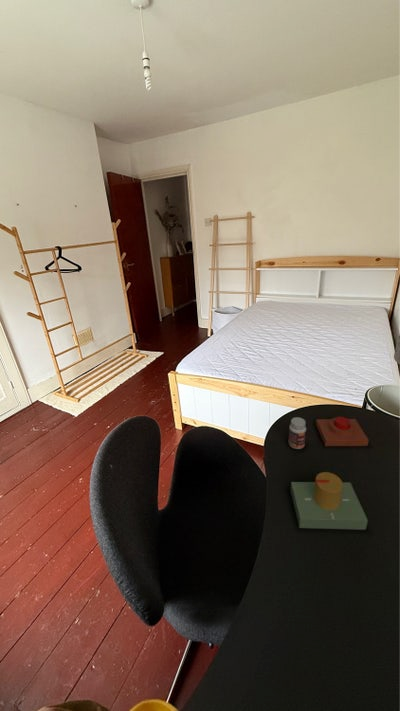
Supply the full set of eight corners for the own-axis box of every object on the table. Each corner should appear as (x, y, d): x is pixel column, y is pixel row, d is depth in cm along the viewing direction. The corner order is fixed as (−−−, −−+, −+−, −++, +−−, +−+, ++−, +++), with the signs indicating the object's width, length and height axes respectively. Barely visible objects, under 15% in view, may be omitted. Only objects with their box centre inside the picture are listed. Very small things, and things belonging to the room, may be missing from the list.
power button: (346, 421, 92) (346, 416, 91) (351, 429, 88) (351, 424, 88) (332, 421, 92) (333, 416, 92) (337, 429, 89) (337, 425, 88)
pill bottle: (299, 451, 87) (301, 428, 83) (285, 444, 90) (286, 421, 86) (308, 443, 89) (310, 421, 86) (294, 436, 93) (295, 414, 89)
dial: (335, 489, 71) (338, 471, 68) (343, 510, 65) (347, 491, 63) (310, 489, 71) (312, 470, 69) (317, 510, 66) (319, 491, 64)
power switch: (354, 424, 96) (356, 414, 94) (367, 446, 87) (369, 435, 85) (315, 424, 97) (316, 414, 95) (325, 446, 88) (326, 435, 86)
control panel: (348, 491, 73) (350, 481, 72) (365, 529, 64) (368, 519, 63) (290, 490, 75) (291, 481, 74) (299, 528, 66) (300, 518, 64)
